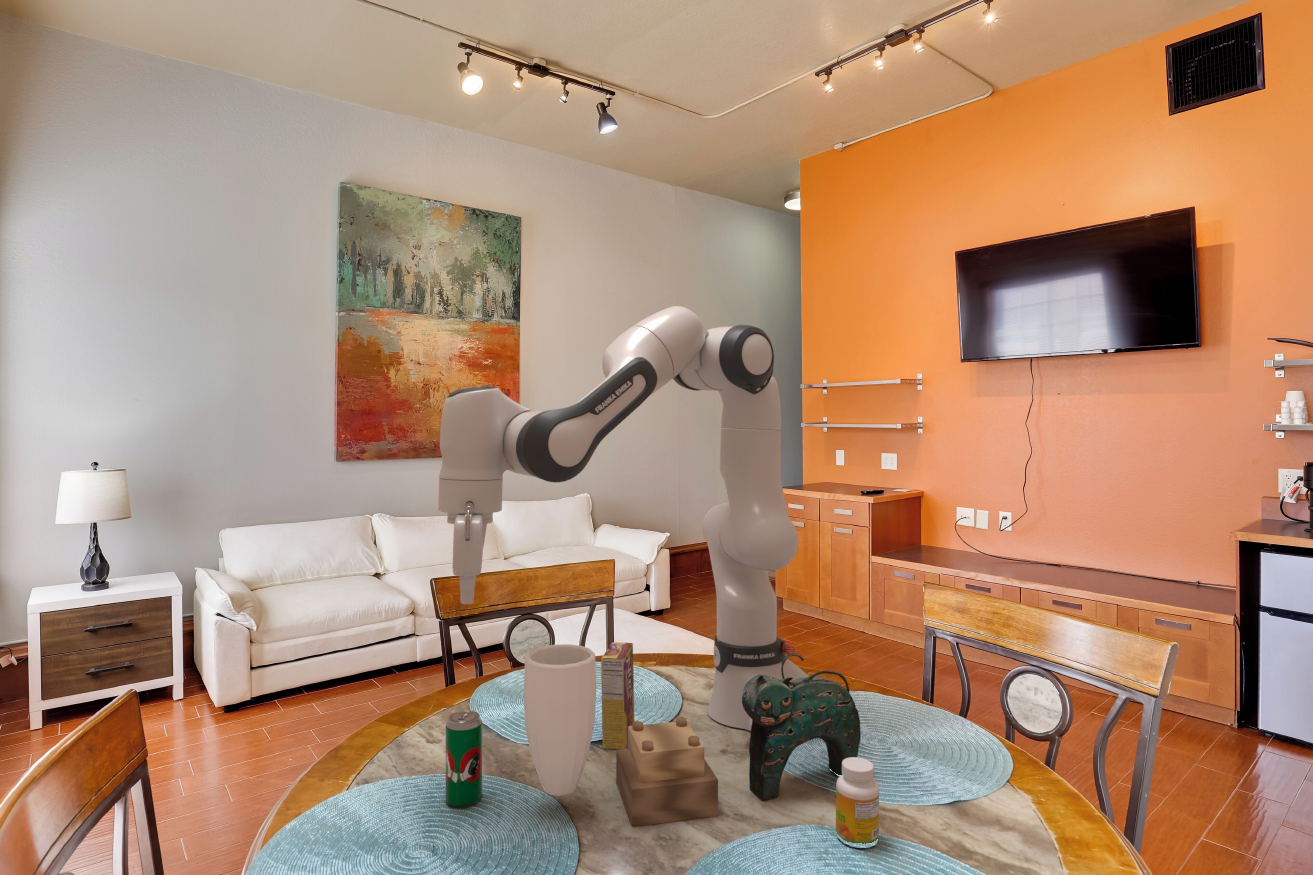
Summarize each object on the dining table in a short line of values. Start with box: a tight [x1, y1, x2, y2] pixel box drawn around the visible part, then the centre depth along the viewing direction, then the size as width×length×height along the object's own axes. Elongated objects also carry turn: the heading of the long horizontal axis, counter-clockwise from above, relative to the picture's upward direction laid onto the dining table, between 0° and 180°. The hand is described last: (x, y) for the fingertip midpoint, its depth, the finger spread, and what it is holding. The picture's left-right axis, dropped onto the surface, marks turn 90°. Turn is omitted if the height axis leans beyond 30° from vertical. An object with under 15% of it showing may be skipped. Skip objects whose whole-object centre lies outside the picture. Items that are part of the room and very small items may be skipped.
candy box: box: [600, 641, 636, 750], centre depth 122 cm, size 9×4×15 cm, turn 172°
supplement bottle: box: [835, 756, 880, 844], centre depth 92 cm, size 5×5×10 cm
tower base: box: [615, 716, 719, 828], centre depth 102 cm, size 12×12×10 cm
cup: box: [523, 643, 597, 796], centre depth 99 cm, size 10×10×22 cm
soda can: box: [445, 710, 483, 808], centre depth 101 cm, size 5×5×12 cm
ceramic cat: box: [742, 652, 862, 802], centre depth 107 cm, size 20×6×20 cm, turn 115°
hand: (468, 595), depth 102 cm, fingers open, 8 cm apart
